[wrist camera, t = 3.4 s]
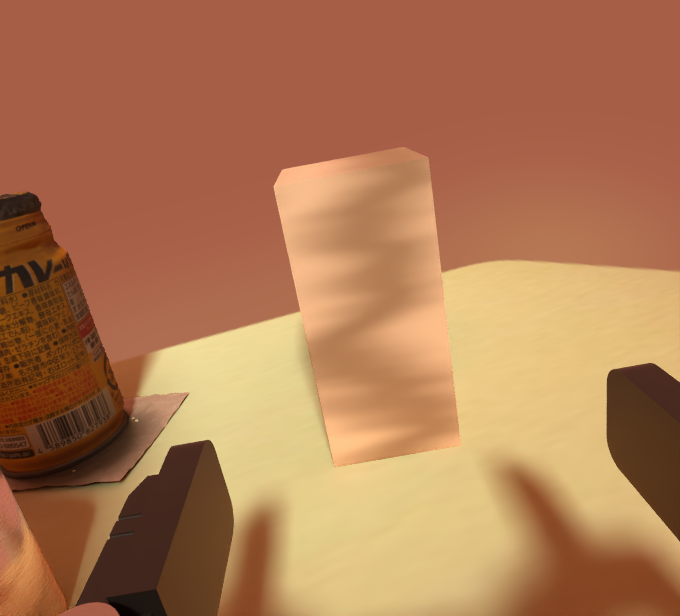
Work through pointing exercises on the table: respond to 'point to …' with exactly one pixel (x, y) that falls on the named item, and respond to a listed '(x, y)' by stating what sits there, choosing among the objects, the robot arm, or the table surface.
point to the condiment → (59, 368)
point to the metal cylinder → (23, 565)
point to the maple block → (372, 302)
